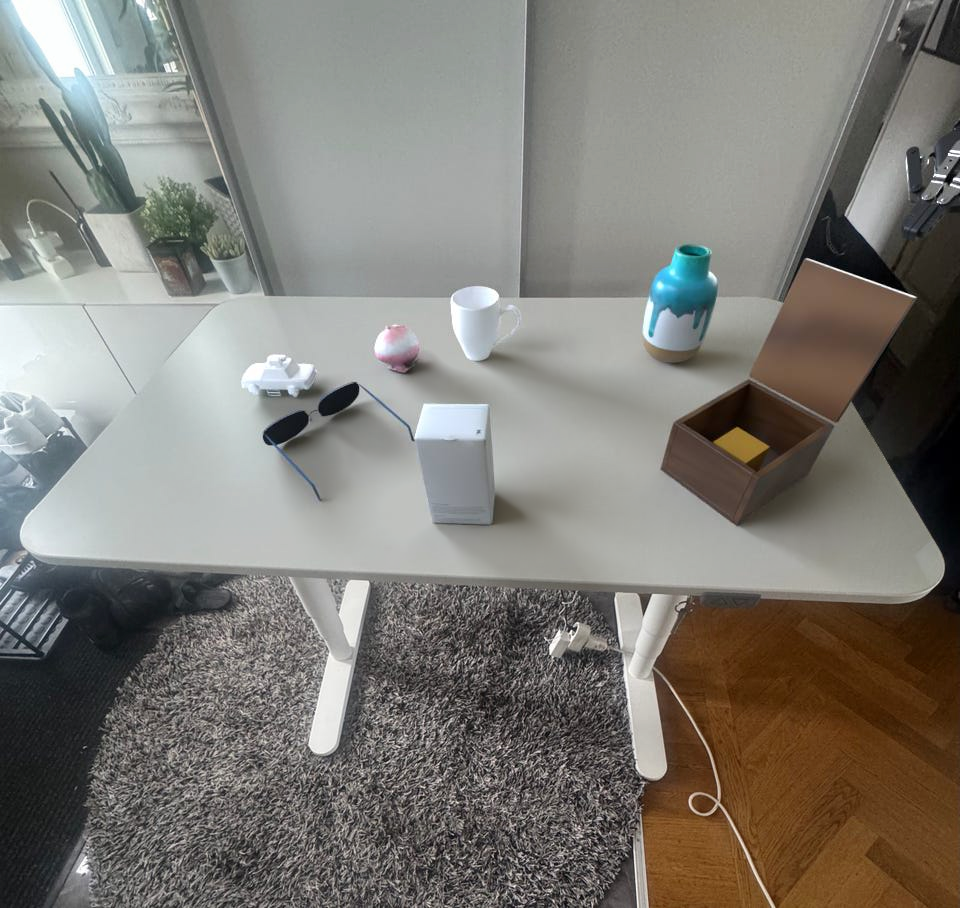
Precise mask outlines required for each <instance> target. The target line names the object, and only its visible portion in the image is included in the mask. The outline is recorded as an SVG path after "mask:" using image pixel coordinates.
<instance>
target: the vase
mask: <svg viewBox="0 0 960 908" xmlns="http://www.w3.org/2000/svg"><path fill="white" fill-rule="evenodd" d="M711 258H712V250H711V248H709V247H708V246H706V245H704V244H700V243H694V242H689V243H688V242H687V243H681V244H679V245H677V246H676V247H675V249H674V252H673V256H672V259H671V262H670V265H668V266H666V267H664V268H662V269H661V270H659V272H657V274H656V275H655V277H654V279H653V281H652V284H651V286H650V289H649V293H648V297H647V302H646V307H645V311H644V316H643V324H642V336H641V337H642V343H643V347H644V349H645V350H646V352H647V353H648V354H649V356H651V357H652V358H654V359H656V360H658V361H660V362H665V363H675V364H676V363H681V362H682V363H683V362H685V361H688V360H689V359H690V358H692V357H694V356H695V355H696V354H697V353H698V352H699V350H700V349H701V347H702V345H703V343H704V341H705V338H706V336H707V333H708V331H709V328H710V324H711V321H712V317H713V314H714V310H715V307H716V301H717V298H718V297H717V296H718V291H719V284H718V279H717V277H716V275H714V273H713V272H711V270H709V268H710V264H711V263H710V262H711Z"/></svg>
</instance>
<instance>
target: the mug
mask: <svg viewBox="0 0 960 908" xmlns="http://www.w3.org/2000/svg"><path fill="white" fill-rule="evenodd" d="M450 309H451V320H452V321H451V322H452V328H453V331H454V334H455V337H456V339H457V341H458V342H459V344H460V347H461V348H462V350H463V352H464V354H465V356H466V358H467V359H468V360H470V361H474V362H480V361H481V362H482V361H484V360H487V359H488V358H489V357H490V354H491V352H492V350H493V348H494V347H497V346H499V345H501V344H502V343H504V342H505V341H507V340H508V339H509V338H512V336H513V335H515V334H516V333H517V332H518V331H519V329H520V327H521V324H522V314H521V311H520V309H519V308H518V306H516V305H515V304H508V305H506V306H504V307H503V308H502V307H501V299H500V295H499V293H498V292H497V290H495V289H493V288H490V287H487V286H481V285H475V286H474V285H472V286H467V287H462V288H460V289H458V290H456V291H455V292H454V293H453V294H452V296H451V298H450ZM509 311H512V312H514V313H515V314H516V316H517V322H516V325H515V326H514V327H513V329H511V331H509V332H508V333H507V334H505V335H504V336H502V337H501V338H500V339H497V337H498V334H499V332H500V326H501V321H502V317H503V315H504V314H505V313H507V312H509Z"/></svg>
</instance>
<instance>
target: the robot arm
mask: <svg viewBox="0 0 960 908" xmlns="http://www.w3.org/2000/svg"><path fill="white" fill-rule="evenodd" d="M932 158H933V169H934V171H933V172H934V174H933V176H932V179H931V181H930V182H929V184H928V185H927V186H925V185H923V175H922V171H923V170H924V169H925V168H927V166H928V165H929V162H930V160H931V159H932ZM905 169H906V170H905V171H906V181H907V191H908V201H909V202H910V203H913V204H915V205H914V206H913V208H912V209H911V210H910V212H909V213H908V214H907V215H906V217H905V218H904V219H903V221H902V222H901V227H900V228H901V232H900V233H901V238H902V239H904V240H907V241H911V242H914V243H916V242H917V241H918V240H919V239H925V238H926V237H928V236H929V235H930V233H932V231H933V230H934V229H935V228H936V226H937V224H939V223H940V222H941V220H942V219H943V218H944V217H945V216H947V215H949V214H956V213H957V214H958V215H960V118H959V119H958V120H957V121H956V122H955V124H954V125H953V127H952V128H951V129H950V130H949V131H948V132H947V133H945V134H944V135H942V136H940V137H939V138H938V139H937V140H936V142H935V143H934V144H933V145H929V146H927V147H923V148H919V147H918V146H911V147H909V148H908V149H907V150H906V151H905Z"/></svg>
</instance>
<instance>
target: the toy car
mask: <svg viewBox="0 0 960 908" xmlns="http://www.w3.org/2000/svg"><path fill="white" fill-rule="evenodd" d="M266 360H267V361H266V362H263V363H254V364H252V365H250V366H249V367H248V368H247V370H246V372H245V373H244V374H243V376H242V380H241V383H240V384H241V387H242V389H246V388H248V391H249V392H250V393H251V394H253V395H254V396H258V395H259V393H260V392H261V390H266V392H267V395H268V396H273V397H277V396H278V397H281V396H282V394H281V390H287V392H288V394H289V395H290V396H293V397H294V398H297V397H298V395H299V393H300V390H310V388H311V387H312V385H313V384H314V382H315V381H316V378H317V376H318V370H317V369H316V366H314V365H313V364H312V363H311V364H310V363H309V364H308V363H297V362H296V361H295V360H294V359H292V358H291V357H288V356H286V355H285V354H271V355H269V356H267V357H266ZM269 390H278V391H269Z"/></svg>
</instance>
